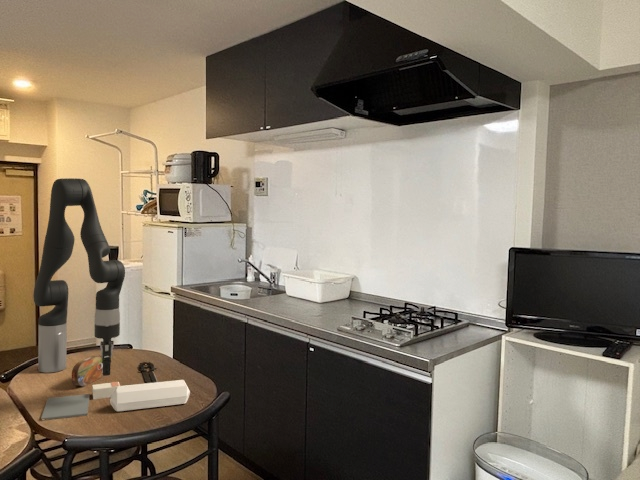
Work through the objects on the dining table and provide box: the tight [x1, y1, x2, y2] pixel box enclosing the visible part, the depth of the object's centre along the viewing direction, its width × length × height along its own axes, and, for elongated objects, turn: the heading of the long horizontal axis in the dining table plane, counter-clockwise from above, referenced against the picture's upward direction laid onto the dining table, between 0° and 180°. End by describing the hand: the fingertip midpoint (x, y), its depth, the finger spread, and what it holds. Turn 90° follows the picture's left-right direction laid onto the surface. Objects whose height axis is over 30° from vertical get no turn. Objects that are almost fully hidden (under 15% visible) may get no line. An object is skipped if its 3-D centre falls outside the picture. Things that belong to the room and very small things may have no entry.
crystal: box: [109, 379, 191, 412], centre depth 155 cm, size 7×7×24 cm
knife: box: [138, 361, 159, 383], centre depth 183 cm, size 25×6×1 cm, turn 20°
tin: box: [71, 355, 103, 387], centre depth 173 cm, size 15×3×8 cm, turn 168°
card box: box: [91, 381, 121, 401], centre depth 162 cm, size 4×8×4 cm, turn 118°
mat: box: [40, 393, 91, 420], centre depth 151 cm, size 16×12×1 cm
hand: (106, 371), depth 161 cm, fingers open, 8 cm apart
